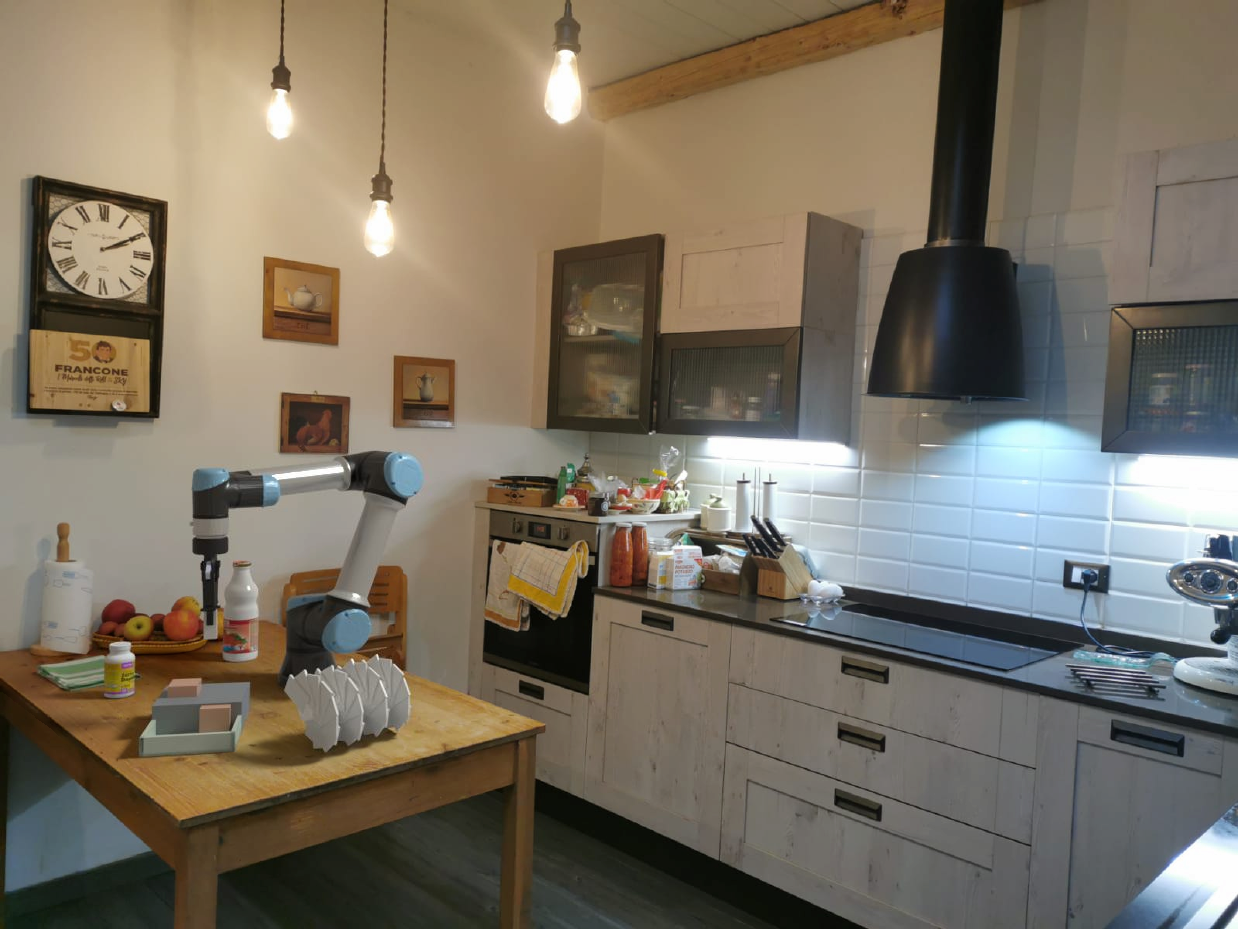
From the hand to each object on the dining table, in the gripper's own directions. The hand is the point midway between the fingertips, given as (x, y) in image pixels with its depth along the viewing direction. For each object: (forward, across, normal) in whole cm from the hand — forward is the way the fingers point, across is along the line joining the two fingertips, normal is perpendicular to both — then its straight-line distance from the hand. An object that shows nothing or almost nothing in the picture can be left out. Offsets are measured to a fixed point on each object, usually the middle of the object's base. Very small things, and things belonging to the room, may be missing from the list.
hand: (210, 638), depth 207 cm
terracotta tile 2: (+12, +2, -5) cm, 13 cm away
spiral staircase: (+20, +21, +31) cm, 42 cm away
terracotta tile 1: (+15, +11, +2) cm, 19 cm away
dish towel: (+20, -44, -34) cm, 59 cm away
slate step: (+19, +3, -1) cm, 19 cm away
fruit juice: (+20, -55, +3) cm, 58 cm away
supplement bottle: (+19, -24, -23) cm, 38 cm away
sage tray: (+19, +16, -2) cm, 25 cm away
